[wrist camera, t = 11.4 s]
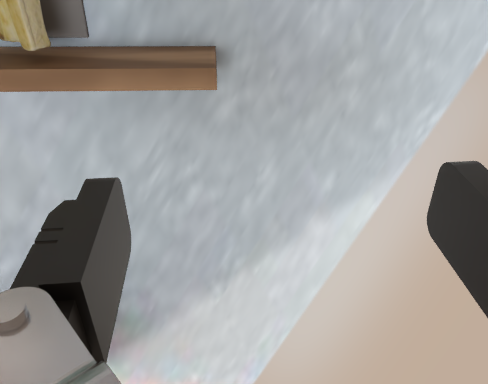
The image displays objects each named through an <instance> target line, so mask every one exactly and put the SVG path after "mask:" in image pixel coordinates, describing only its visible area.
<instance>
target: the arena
mask: <svg viewBox="0 0 488 384" xmlns="http://www.w3.org/2000/svg"><path fill="white" fill-rule="evenodd" d="M140 90H217V71H216V50H215V46H159V47H45V48H40V49H39V50H36V51H28V50H25V49H24V48H23V47H0V92H27V91H140Z"/></svg>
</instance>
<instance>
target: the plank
mask: <svg viewBox="0 0 488 384" xmlns="http://www.w3.org/2000/svg"><path fill="white" fill-rule="evenodd" d="M0 39H1V40H4V41H11V42H20V43H21V45H22V47H23V48H24V49H25V50H28V51H36V50H39V49H40V48H45V47H50V45H51V42H50V41H49V39H48V36H47V32H46V29H45V25H44V20H43V15H42V10H41V5H40V0H0Z"/></svg>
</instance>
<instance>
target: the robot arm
mask: <svg viewBox="0 0 488 384" xmlns="http://www.w3.org/2000/svg"><path fill="white" fill-rule="evenodd" d="M427 225H428V230H429V233H430V236H431V237H432V239H433V240H434V242H435V243H436V244H437V246H438V247H439V249H440V250H441V252H442V253H443V255H444V256H445V257H446V259H447V260H448V262H449V263H450V265H451V266H452V267H453V269H454V270H455V272H456V273H457V275H458V276H459V278H460V279H461V280H462V282H463V283H464V285H465V286H466V288H467V289H468V290H469V292H470V293H471V295H472V296H473V298H474V299H475V300H476V302H477V303H478V305H479V306H480V308H481V309H482V310H483V312H484V313H485V314H486V316H487V318H488V170H487V169H486V168H485V167H484V166H483V165H482V164H481V163H479V162H477V161H466V162H446V163H444V164H443V165H442V166H441V167H440V170H439V173H438V176H437V180H436V184H435V187H434V191H433V195H432V199H431V202H430V206H429V210H428V214H427ZM130 252H131V231H130V225H129V220H128V215H127V210H126V205H125V200H124V195H123V189H122V185H121V182H120V179H119V178H97V179H86V180H85V182H84V184H83V186H82V188H81V190H80V193H79V195H78V197H77V199H76V200H65V201H63V202H62V203H61V204H60V205H59V206H58V207H56V208H55V209H54V210H53V211H52V212H50V213H49V215H48V216H47V218H46V220H45V222H44V224H43V226H42V228H41V232H39V234H38V236H37V238H36V240H35V244H33V245H32V247H31V249H30V251H29V253H28V255H27V257H26V259H25V261H24V263H23V265H22V267H21V268H20V270H19V272H18V274H17V276H16V278H15V280H14V282H13V284H12V286H11V288H10V290H6V291H4V292H1V293H0V384H121V383H120V381H119V380H118V379H117V377H116V376H115V374H114V373H113V372H112V370H111V369H110V367H109V366H108V365H107V364H106V362H107V357H108V353H109V348H110V344H111V339H112V334H113V330H114V325H115V321H116V316H117V312H118V307H119V303H120V298H121V294H122V289H123V284H124V280H125V275H126V271H127V266H128V262H129V257H130Z"/></svg>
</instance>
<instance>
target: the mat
mask: <svg viewBox="0 0 488 384" xmlns="http://www.w3.org/2000/svg"><path fill="white" fill-rule="evenodd" d="M40 5H41V10H42V15H43V20H44V25H45V29H46V32H47V36H48V38H65V37H89V35H88V30H87V24H86V18H85V12H84V7H83V1H82V0H40Z"/></svg>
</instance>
